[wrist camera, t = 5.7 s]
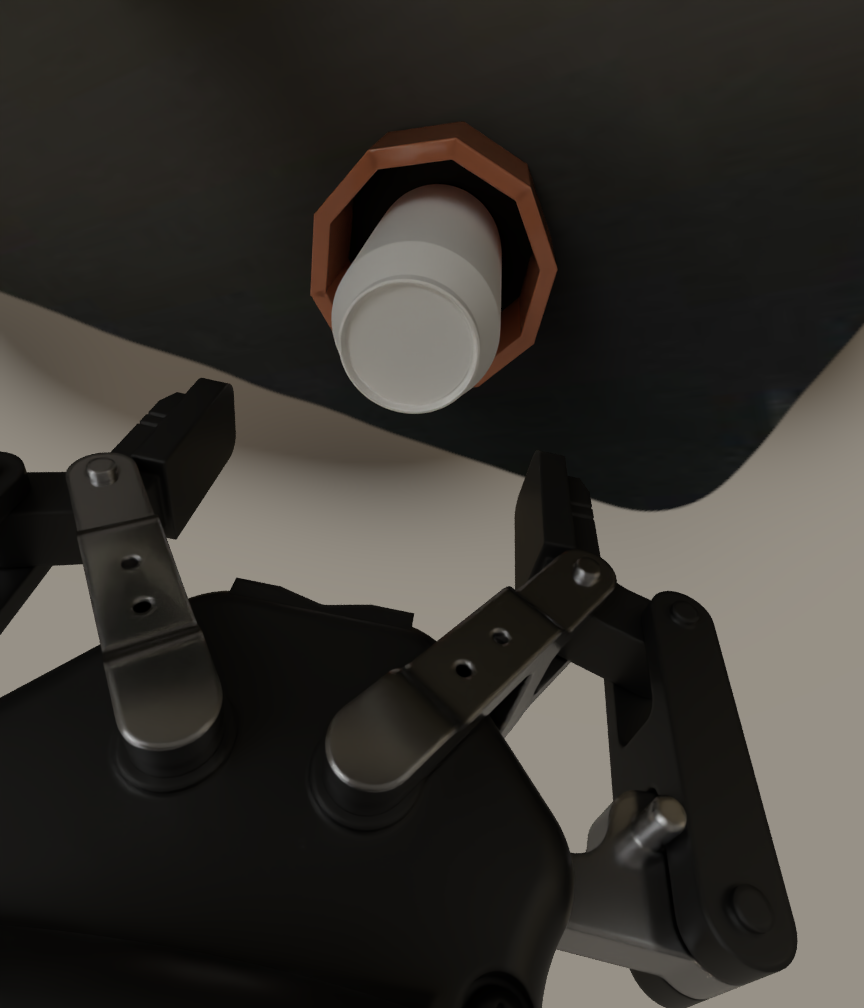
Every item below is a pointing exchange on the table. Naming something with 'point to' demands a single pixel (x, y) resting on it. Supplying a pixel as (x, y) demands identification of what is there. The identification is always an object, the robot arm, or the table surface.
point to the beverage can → (422, 302)
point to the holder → (481, 161)
